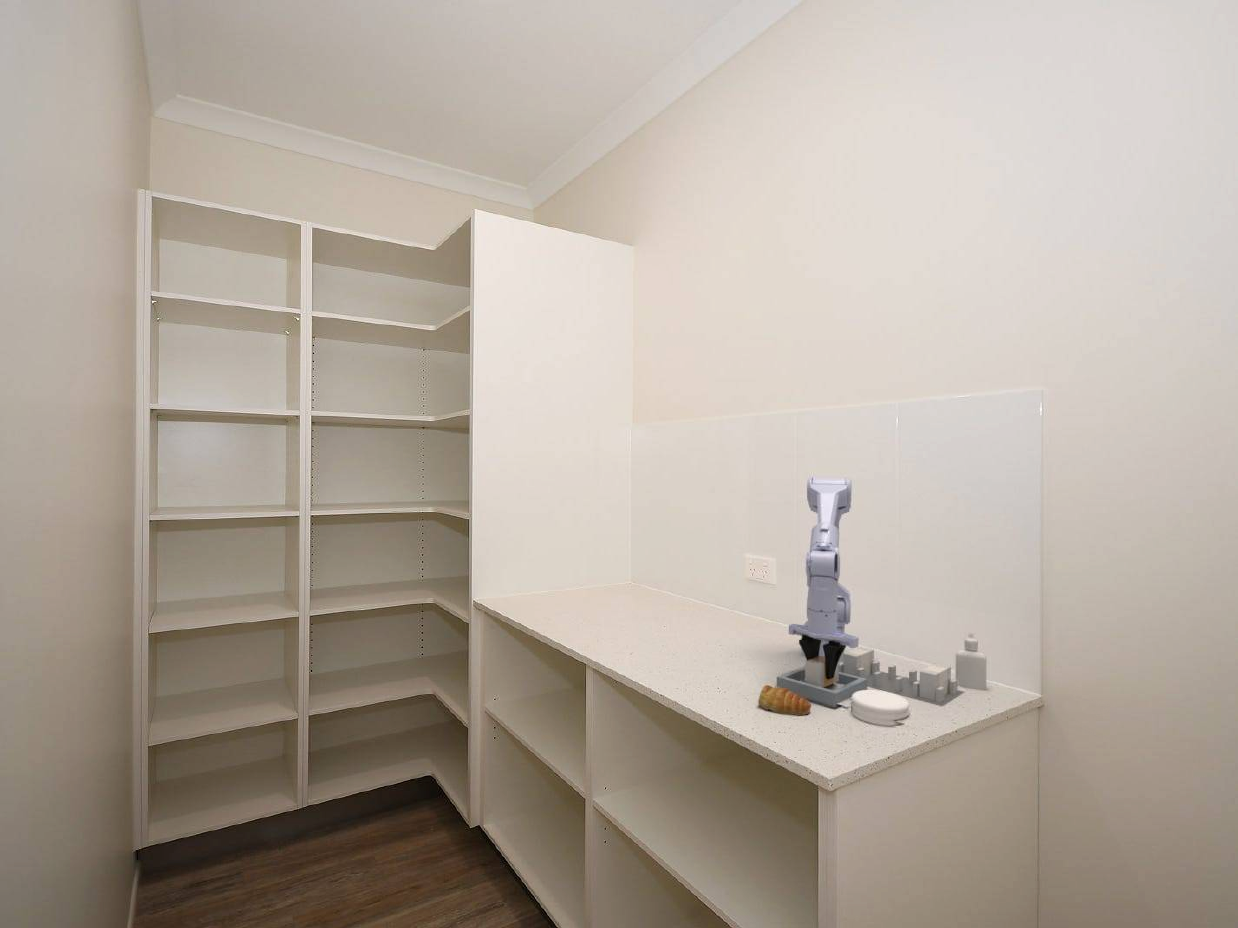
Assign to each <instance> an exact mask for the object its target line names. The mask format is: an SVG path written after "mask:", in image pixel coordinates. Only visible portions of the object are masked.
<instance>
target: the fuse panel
mask: <svg viewBox="0 0 1238 928" xmlns="http://www.w3.org/2000/svg"><path fill="white" fill-rule="evenodd" d="M880 665H881V664H880V661H877V660H876V661H874V662H873V663H872V674H869V675H867V676H865V668H862V667H861V668H859V669H857V676H858V677H861V678H865V679H867V688H872V689H874V690H878V691H885V692H890V693H893V694H896V695H899V696H901V697H906V698H910V699H912V700H917V701H921V702H925V703H928V704H931V705H935V706H939V707H943V706H946V705H947V704H948V703H950V702H952V701H954V700H955V699H957V698H958V697H959V696H961V695H963V694H964V693H965V691H964V690H963V691H962V690H958V685H957V682H958V680H956V678H955V679H954V678H953V679H952V678H951V681H950V692H949V693H947V694H946V695H944V687H939V688H937V689H936V701H934V700H930V699H926V698H923V697H919V696H920V680H918V670H916V669H912V670H909V671H908V677H905V676H902V675H901V676H900V675H897V665H895V664H891V665H889V666H888V669H887V671H888V672H884V671H880V669H881V668H880V667H881V666H880ZM839 672H842V673H843V662H839Z"/></svg>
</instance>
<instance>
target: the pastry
mask: <svg viewBox="0 0 1238 928" xmlns="http://www.w3.org/2000/svg"><path fill="white" fill-rule="evenodd" d="M757 702H758V705H759V706H760V707H761V708H762V709H764V710H766V711H768V710H770V711H772V712H773V713H778V714H783V715H784V714H785V715H790V716H799V715H800V716H805V715H807V714H809V712H810V711H811V707H812V704H811V703H810V701H807V700H806V699H805V698H803V697H802V696H800V695H797V694H796V693H794V692H791V691H789V690H788V689H787V688H780V687H777V686H774V687H773V686H771V685H770V684H769V685H768V684H766V685H763V687H762V689H761V691H760V693H759V697H758V701H757Z"/></svg>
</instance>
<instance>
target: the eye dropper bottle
mask: <svg viewBox="0 0 1238 928" xmlns="http://www.w3.org/2000/svg"><path fill="white" fill-rule="evenodd" d="M978 644H979V641H978V639H977V638H975V635H974V633H973V632H969V633H968V637H966V638H964V644H963V645H964V649H959V650H957V652H956V653H955V679H956V680H958V682H957V687H962V688H967V689H971V690H972V689H973V690H980V691H986V690H987V673H988V672H987V663H988V662H987V655H985V654H984V653H983V652H980V650H979V651H978V649H979V648H978V647H979V645H978Z"/></svg>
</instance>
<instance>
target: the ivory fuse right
mask: <svg viewBox="0 0 1238 928" xmlns="http://www.w3.org/2000/svg"><path fill="white" fill-rule="evenodd" d="M951 680H952V666H949V665H944V664H941V663H940V664H939V663H933V664H931V665H930V666H927V667H925V668H923V669H921V670H919V681H920V696H919V697H923V698H926V699H930V700H934V701H936V689H937V688H939V687H944V695H946V694H947V693H949V692H950V681H951Z"/></svg>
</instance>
